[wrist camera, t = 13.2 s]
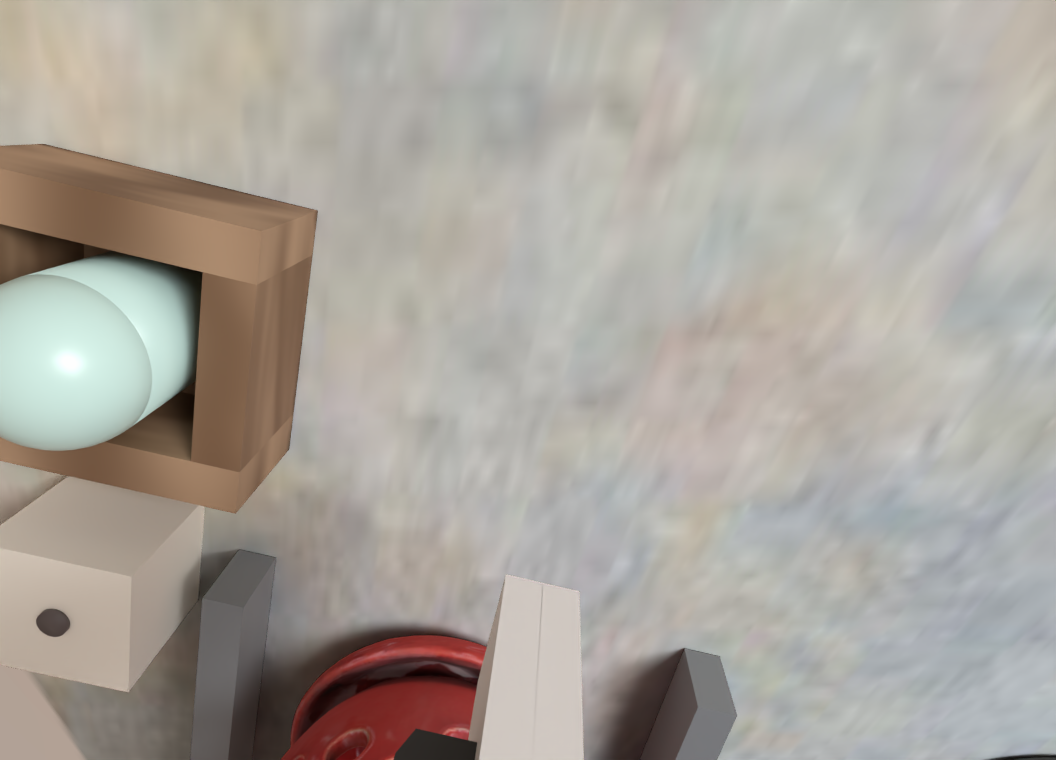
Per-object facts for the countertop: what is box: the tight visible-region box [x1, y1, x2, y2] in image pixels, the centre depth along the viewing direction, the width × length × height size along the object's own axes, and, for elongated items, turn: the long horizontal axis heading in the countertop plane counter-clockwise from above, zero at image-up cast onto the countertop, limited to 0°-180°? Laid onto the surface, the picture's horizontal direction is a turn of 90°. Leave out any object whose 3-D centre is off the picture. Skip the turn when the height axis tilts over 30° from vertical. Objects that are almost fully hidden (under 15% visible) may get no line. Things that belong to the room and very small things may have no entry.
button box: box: [0, 144, 318, 513], centre depth 22 cm, size 9×9×4 cm
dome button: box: [0, 251, 203, 451], centre depth 20 cm, size 5×5×7 cm
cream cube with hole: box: [0, 476, 205, 692], centre depth 25 cm, size 5×5×5 cm
